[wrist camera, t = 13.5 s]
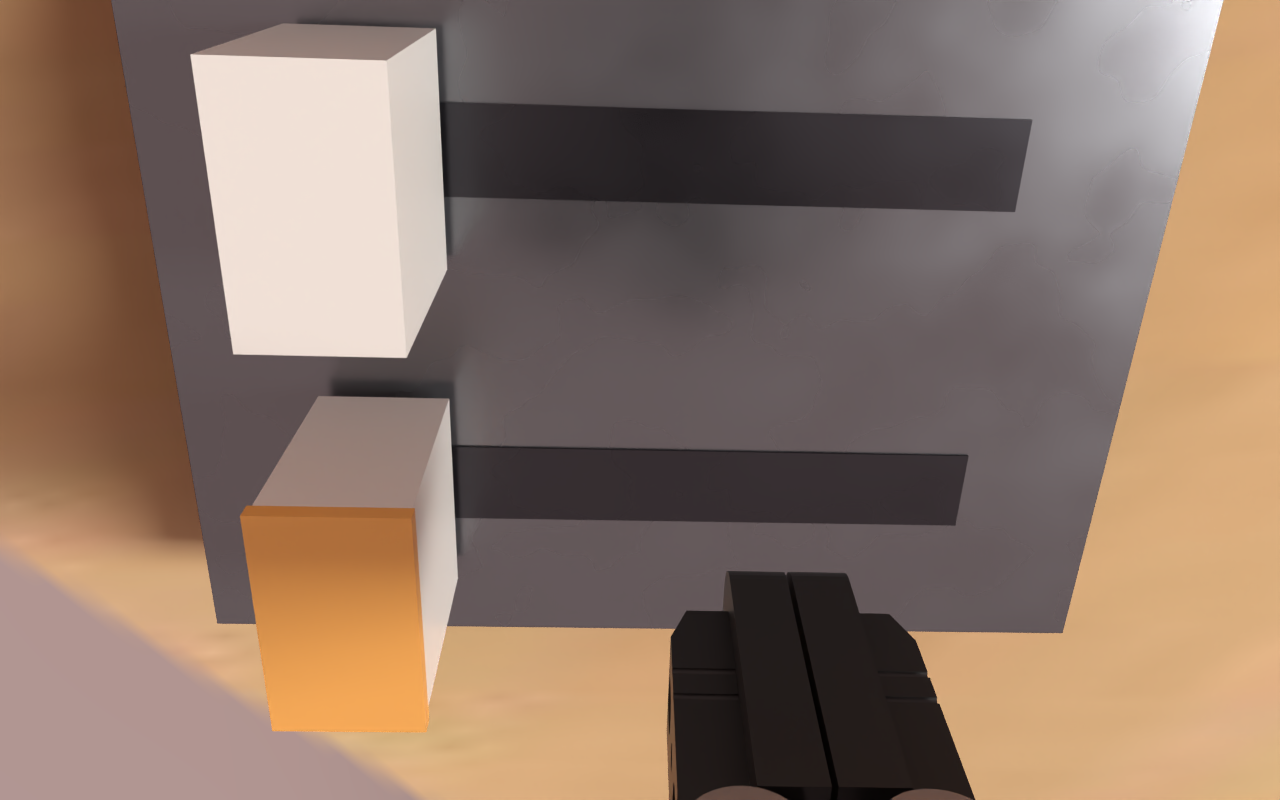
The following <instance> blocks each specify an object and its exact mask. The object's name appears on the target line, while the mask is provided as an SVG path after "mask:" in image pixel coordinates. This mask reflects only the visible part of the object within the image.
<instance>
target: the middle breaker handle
mask: <svg viewBox="0 0 1280 800" xmlns="http://www.w3.org/2000/svg"><path fill="white" fill-rule="evenodd" d="M190 56H191V63H192V70H193V77H194V84H195V91H196V98H197V105H198V112H199V119H200V126H201V133H202V140H203V147H204V154H205V161H206V167H207V174H208V181H209V188H210V195H211V202H212V209H213V216H214V223H215V230H216V237H217V244H218V251H219V258H220V265H221V272H222V279H223V286H224V293H225V300H226V307H227V314H228V321H229V328H230V335H231V342H232V349H233V354H242V355H290V356H337V357H385V358H407V356H408V354H409V352H410V349H411V347H412V345H413V343H414V341H415V338H416V336H417V334H418V332H419V330H420V328H421V325H422V323H423V321H424V319H425V317H426V315H427V312H428V310H429V308H430V306H431V304H432V301H433V299H434V297H435V295H436V293H437V291H438V288H439V286H440V284H441V282H442V280H443V278H444V275H445V273H446V271H447V255H446V234H445V213H444V191H443V170H442V149H441V127H440V106H439V85H438V64H437V42H436V28H410V27H379V26H349V25H318V24H288V23H283V24H280V25H277V26H274V27H271V28H268V29H265V30H262V31H259V32H256V33H253V34H250V35H247V36H244V37H241V38H238V39H235V40H232V41H229V42H226V43H223V44H220V45H217V46H214V47H211V48H208V49H205V50H202V51H199V52H196V53H193V54H190Z"/></svg>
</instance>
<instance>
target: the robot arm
mask: <svg viewBox="0 0 1280 800" xmlns="http://www.w3.org/2000/svg"><path fill="white" fill-rule="evenodd" d="M667 750H668V780H669V800H975V798H974V795H973V793H972V790H971V787H970V785H969V782H968V779H967V776H966V774H965V771H964V768H963V766H962V763H961V760H960V758H959V755H958V752H957V750H956V747H955V744H954V742H953V739H952V736H951V734H950V731H949V728H948V726H947V723H946V720H945V718H944V715H943V712H942V710H941V707H940V704H937V696H936V694H935V691H934V688H933V685H932V683H931V680H930V678H928V677H927V669H926V667H925V664H924V661H923V659H922V656H921V653H920V651H919V648H918V645H917V643H916V641H915V640H914V639H913V638H912V636H911V635H910V634H909V633H908V632H907V631H906V630H905V629H904V628H903V627H902V626H901V625H900V624H899V623H898V622H897V621H896V620H895V619H894V618H893V617H892V616H891V615H890V614H875V613H859V610H858V606H857V603H856V600H855V597H854V593H853V590H852V587H851V584H850V581H849V578H848V576H847V574H846V573H827V572H787V574H786V575H785V573H784V572H758V571H727V572H726V576H725V584H724V598H723V611H688V610H686V612H685V614H684V616H683V617H682V619H681V621H680V622H679V624H678V626H677V627H676V629H675V631H674V632H673V634H672V636H671V645H670V668H669V692H668V715H667Z"/></svg>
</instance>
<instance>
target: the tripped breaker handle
mask: <svg viewBox="0 0 1280 800" xmlns="http://www.w3.org/2000/svg"><path fill="white" fill-rule="evenodd" d="M240 520H241V527H242V533H243V540H244V547H245V553H246V560H247V566H248V573H249V580H250V586H251V593H252V600H253V606H254V613H255V619H256V626H257V633H258V639H259V646H260V652H261V659H262V666H263V672H264V679H265V686H266V692H267V699H268V705H269V712H270V719H271V725H272V731H328V732H426V731H427V727H428V722H429V710H428V706H429V702H430V697H431V693H432V689H433V684H434V680H435V675H436V671H437V667H438V662H439V658H440V654H441V649H442V645H443V641H444V636H445V632H446V628H447V623H448V619H449V615H450V610H451V606H452V602H453V597H454V593H455V588H456V584H457V580H458V570H457V550H456V530H455V509H454V489H453V468H452V448H451V427H450V407H449V399H443V398H392V397H341V396H318V397H317V399H316V401H315V402H314V404H313V406H312V407H311V409H310V411H309V412H308V414H307V416H306V417H305V419H304V421H303V422H302V424H301V425H300V427H299V429H298V430H297V432H296V434H295V435H294V437H293V439H292V440H291V442H290V444H289V445H288V447H287V449H286V450H285V452H284V454H283V455H282V457H281V458H280V460H279V462H278V463H277V465H276V467H275V468H274V470H273V472H272V473H271V475H270V477H269V478H268V480H267V482H266V483H265V485H264V487H263V488H262V490H261V491H260V493H259V495H258V496H257V498H256V500H255V501H254V503H253V505H252V506H246V507H245V509H244V510H243V512H242V513H241V515H240Z"/></svg>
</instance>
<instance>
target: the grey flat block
mask: <svg viewBox="0 0 1280 800" xmlns="http://www.w3.org/2000/svg"><path fill="white" fill-rule="evenodd" d="M111 2H112V8H113V14H114V19H115V25H116V31H117V37H118V43H119V49H120V55H121V61H122V66H123V72H124V78H125V84H126V90H127V96H128V102H129V107H130V113H131V119H132V125H133V131H134V137H135V143H136V148H137V154H138V160H139V166H140V172H141V178H142V184H143V190H144V195H145V201H146V207H147V213H148V219H149V225H150V231H151V236H152V242H153V248H154V254H155V260H156V266H157V272H158V278H159V283H160V289H161V295H162V301H163V307H164V313H165V319H166V324H167V330H168V336H169V342H170V348H171V354H172V360H173V365H174V371H175V377H176V383H177V389H178V395H179V401H180V407H181V412H182V418H183V424H184V430H185V436H186V442H187V448H188V453H189V459H190V465H191V471H192V477H193V483H194V489H195V495H196V500H197V506H198V512H199V518H200V524H201V530H202V536H203V541H204V547H205V553H206V559H207V565H208V571H209V577H210V582H211V588H212V594H213V600H214V606H215V612H216V618H217V623H222V624H256V619H255V613H254V606H253V600H252V593H251V586H250V580H249V573H248V566H247V560H246V553H245V547H244V540H243V533H242V527H241V520H240V515H241V513H242V512H243V510H244V509H245V507H246V506H252V505H253V503H254V501H255V500H256V498H257V496H258V495H259V493H260V491H261V490H262V488H263V487H264V485H265V483H266V482H267V480H268V478H269V477H270V475H271V473H272V472H273V470H274V468H275V467H276V465H277V463H278V462H279V460H280V458H281V457H282V455H283V454H284V452H285V450H286V449H287V447H288V445H289V444H290V442H291V440H292V439H293V437H294V435H295V434H296V432H297V430H298V429H299V427H300V425H301V424H302V422H303V421H304V419H305V417H306V416H307V414H308V412H309V411H310V409H311V407H312V406H313V404H314V402H315V401H316V399H317V397H318V396H341V397H392V398H443V399H449V407H450V427H451V448H452V468H453V489H454V509H455V530H456V550H457V570H458V580H457V584H456V588H455V593H454V597H453V602H452V606H451V610H450V615H449V619H448V623H447V626H486V627H574V628H662V629H676V627H677V626H678V624H679V622H680V621H681V619H682V617H683V616H684V614H685V612H686V610H688V611H723V598H724V584H725V576H726V572H727V571H758V572H784V573H785V575H786V574H787V572H827V573H846V574H847V576H848V578H849V581H850V584H851V587H852V590H853V593H854V597H855V600H856V603H857V606H858V610H859V613H875V614H890V615H891V616H892V617H893V618H894V619H895V620H896V621H897V622H898V623H899V624H900V625H901V626H902V627H903V628H904V629H905V630H906V631H925V632H1013V633H1063V629H1064V625H1065V621H1066V617H1067V613H1068V609H1069V605H1070V601H1071V597H1072V593H1073V590H1074V586H1075V582H1076V578H1077V574H1078V570H1079V566H1080V562H1081V558H1082V554H1083V550H1084V546H1085V542H1086V538H1087V534H1088V531H1089V527H1090V523H1091V519H1092V515H1093V511H1094V507H1095V503H1096V499H1097V495H1098V491H1099V487H1100V483H1101V479H1102V476H1103V472H1104V468H1105V464H1106V460H1107V456H1108V452H1109V448H1110V444H1111V440H1112V436H1113V432H1114V428H1115V424H1116V420H1117V417H1118V413H1119V409H1120V405H1121V401H1122V397H1123V393H1124V389H1125V385H1126V381H1127V377H1128V373H1129V369H1130V365H1131V362H1132V358H1133V354H1134V350H1135V346H1136V342H1137V338H1138V334H1139V330H1140V326H1141V322H1142V318H1143V314H1144V310H1145V306H1146V303H1147V299H1148V295H1149V291H1150V287H1151V283H1152V279H1153V275H1154V271H1155V267H1156V263H1157V259H1158V255H1159V251H1160V248H1161V244H1162V240H1163V236H1164V232H1165V228H1166V224H1167V220H1168V216H1169V212H1170V208H1171V204H1172V200H1173V196H1174V192H1175V189H1176V185H1177V181H1178V177H1179V173H1180V169H1181V165H1182V161H1183V157H1184V153H1185V149H1186V145H1187V141H1188V137H1189V134H1190V130H1191V126H1192V122H1193V118H1194V114H1195V110H1196V106H1197V102H1198V98H1199V94H1200V90H1201V86H1202V82H1203V78H1204V75H1205V71H1206V67H1207V63H1208V59H1209V55H1210V51H1211V47H1212V43H1213V39H1214V35H1215V31H1216V27H1217V23H1218V20H1219V16H1220V12H1221V8H1222V4H1223V0H111ZM283 23H288V24H318V25H349V26H379V27H410V28H436V42H437V64H438V85H439V106H440V127H441V149H442V170H443V191H444V213H445V234H446V255H447V271H446V273H445V275H444V278H443V280H442V282H441V284H440V286H439V288H438V291H437V293H436V295H435V297H434V299H433V301H432V304H431V306H430V308H429V310H428V312H427V315H426V317H425V319H424V321H423V323H422V325H421V328H420V330H419V332H418V334H417V336H416V338H415V341H414V343H413V345H412V347H411V349H410V352H409V354H408V356H407V358H385V357H337V356H290V355H242V354H233V349H232V342H231V335H230V328H229V321H228V314H227V307H226V300H225V293H224V286H223V279H222V272H221V265H220V258H219V251H218V244H217V237H216V230H215V223H214V216H213V209H212V202H211V195H210V188H209V181H208V174H207V167H206V161H205V154H204V147H203V140H202V133H201V126H200V119H199V112H198V105H197V98H196V91H195V84H194V77H193V70H192V63H191V56H190V54H193V53H196V52H199V51H202V50H205V49H208V48H211V47H214V46H217V45H220V44H223V43H226V42H229V41H232V40H235V39H238V38H241V37H244V36H247V35H250V34H253V33H256V32H259V31H262V30H265V29H268V28H271V27H274V26H277V25H280V24H283Z"/></svg>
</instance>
